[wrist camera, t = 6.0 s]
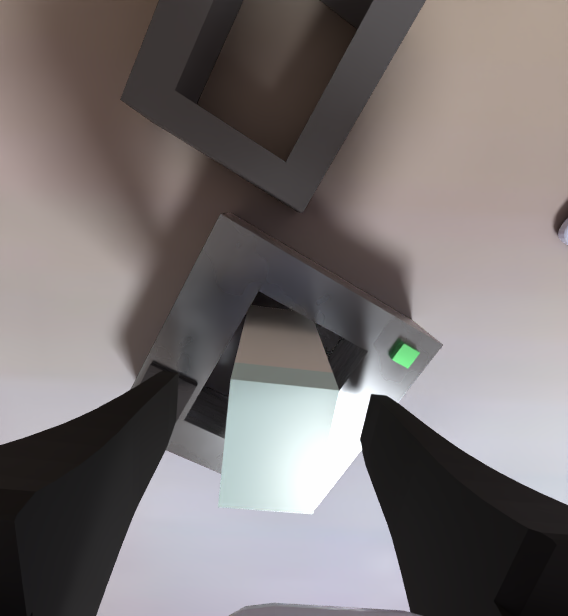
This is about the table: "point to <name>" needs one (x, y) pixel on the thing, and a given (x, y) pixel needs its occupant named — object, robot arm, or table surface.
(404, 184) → the table surface
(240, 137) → the grey hollow square frame
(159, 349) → the port
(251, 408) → the plug
